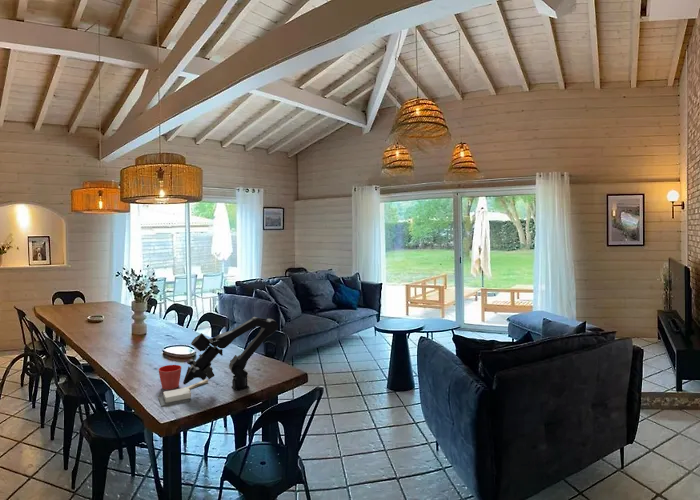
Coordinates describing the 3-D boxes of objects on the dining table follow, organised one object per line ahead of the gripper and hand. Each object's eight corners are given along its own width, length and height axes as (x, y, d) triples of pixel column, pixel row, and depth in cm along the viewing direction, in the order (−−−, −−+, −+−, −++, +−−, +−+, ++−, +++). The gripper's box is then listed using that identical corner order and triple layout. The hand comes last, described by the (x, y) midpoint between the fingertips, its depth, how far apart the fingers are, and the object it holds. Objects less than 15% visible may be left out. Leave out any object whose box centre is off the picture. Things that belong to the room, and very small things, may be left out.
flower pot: (185, 382, 227) (184, 364, 227) (177, 390, 216) (176, 371, 216) (164, 383, 227) (163, 364, 226) (155, 391, 216) (154, 371, 215)
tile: (188, 387, 212) (163, 391, 207) (191, 392, 206) (165, 397, 200) (188, 392, 213) (163, 397, 207) (191, 398, 206) (165, 403, 200)
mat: (185, 392, 214) (185, 391, 214) (189, 401, 203) (189, 400, 203) (158, 397, 208) (158, 396, 208) (161, 407, 198) (161, 405, 198)
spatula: (204, 380, 229) (204, 378, 229) (210, 382, 226) (210, 380, 226) (174, 392, 215) (174, 390, 214) (179, 395, 212) (179, 393, 212)
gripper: (224, 372, 207) (200, 400, 203) (215, 361, 224) (193, 387, 219) (206, 358, 203) (182, 386, 198) (198, 348, 219) (175, 374, 214)
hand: (183, 383), depth 208 cm, fingers closed
